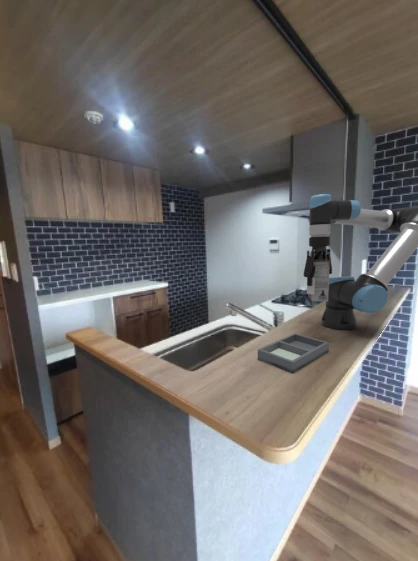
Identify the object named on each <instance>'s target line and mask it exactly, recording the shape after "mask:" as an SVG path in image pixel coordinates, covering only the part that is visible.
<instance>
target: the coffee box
mask: <svg viewBox="0 0 418 561" xmlns="http://www.w3.org/2000/svg"><path fill="white" fill-rule="evenodd" d="M329 264H330V260H327V259H320V260H314V263H313V267H314V266H315V273H314V276H313V277H314V278H315V289H314V295H313V294H307V295H308V296H307V297H308V298H309V300H310V301H311V302H326V301H328V289H329V278H330V274H329V269H330V268H329Z"/></svg>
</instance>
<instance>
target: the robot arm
mask: <svg viewBox="0 0 418 561" xmlns="http://www.w3.org/2000/svg"><path fill="white" fill-rule="evenodd" d="M331 224H336V225H343V226H344V225H346V226H357V227H367V228H376V229H377V230H379V231H384V232H392V233H398V235H397V236H396V237H395V238H394V240H393V241H392V242H391V243H390V245H389V246H388V247H387V248H386V249H385V251H384V252H383V253H382V255H380V257H379V258H378V259H377V261H376V262H375V263H374V264H373V265H372V266H371V267H370V269H369V270H368V271H367V272H366V273H361V274H360V275H359V276H357V277H358V278H357V279H355V276H337V277H336V276H334V277H333V276H332V277H331V276H330V277H329V289H328V301H325V309H324V310H323V311H324V312H323V313H322V317H321V321H320V323H321V325H322V326H324V327H325V328H326V327H327V328H329V329H333V330H340V331H341V330H342V331H346V330H353V329H356V328H357V327H358V326H357V325H358V323H357V322H358V321H357V319H356V315H355V313H354V310H356V311H358V312H362V313H367V314H371V313H372V314H374V313H377V312H379V311H380V310H381V309H382V308H384V307H385V305H386V304H387V301H388V299H387V298H388V296H389V295H388V291H389V288H388V284H389V283H390V282H391V281H392V280H393V278H394V277H395V276H396V274H397V273H398V272H399V271H400V270H401V268H402V267H403V266H404V265H405V263H406V262H407V261H408V260H409V258H410V257H411V256H412V255H413V253H415V251H416V250H417V249H418V205H415V206H414V205H413V206H407V207H406V206H405V207H400V208H395V209H394V208H393V209H392V208H391V209H389V208H385V209H382V210H376V209H368V208H362V206H361V203H360V202H359V201H358V200H355V199H354V200H351V199H347V200H346V199H344V200H343V199H340V200H339V199H338V200H336V199H335V200H333V198H332V194H328V193H322V194H321V193H320V194H315V195H312V196H311V197H310V199H309V229H308V231H309V233H308V234H309V236H310V237H309V238H308V245H309V247H310V248H311V250H306V261H305V265H304V270H303V277H304V278H306V295H308V294H313V295H314V289H315V278H314V277H313V276H314V273H315V266H314V267H313V263H314V260H320V259H327V260H330V264H329V275H332V274H333V265H332V257H331V249H330V248H327V247H330V246H331V237H330V235H331Z"/></svg>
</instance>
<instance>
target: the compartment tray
mask: <svg viewBox="0 0 418 561" xmlns="http://www.w3.org/2000/svg"><path fill="white" fill-rule="evenodd" d="M329 346H330V345H329V342H328V341H324V340H320V339H317V338H315V337H310V336H307V335H303V334H299V333H295V332H294V333H291V334H290V335H287V336H286V337H282V338H280V339H278V340H276V341H274V342H271V343H269V344H267V345H265V346H263V347H260V348H258V349H257V360H259V361H262V362H264V363H267V364H269V365H272V366H275V367H276V368H280V369H282V370H285V371H286V372H289V373H291V374H294V373H296V372H297V371H299V370H301V369H302V368H304V367H306V366H307V365H309V364H311V363H312V362H314V361H316V360H318V359H319V358H321V357H322V356H324V355H325V354H327V353H329V352H330V351H329V349H330V347H329Z"/></svg>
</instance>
